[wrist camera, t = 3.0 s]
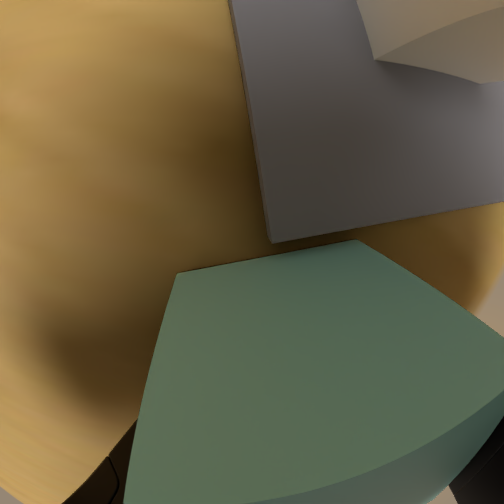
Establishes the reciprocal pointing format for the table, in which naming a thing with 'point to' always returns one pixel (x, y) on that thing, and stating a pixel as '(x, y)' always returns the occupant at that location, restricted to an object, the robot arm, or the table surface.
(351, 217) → the mat
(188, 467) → the teal block
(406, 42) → the white block
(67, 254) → the table surface
